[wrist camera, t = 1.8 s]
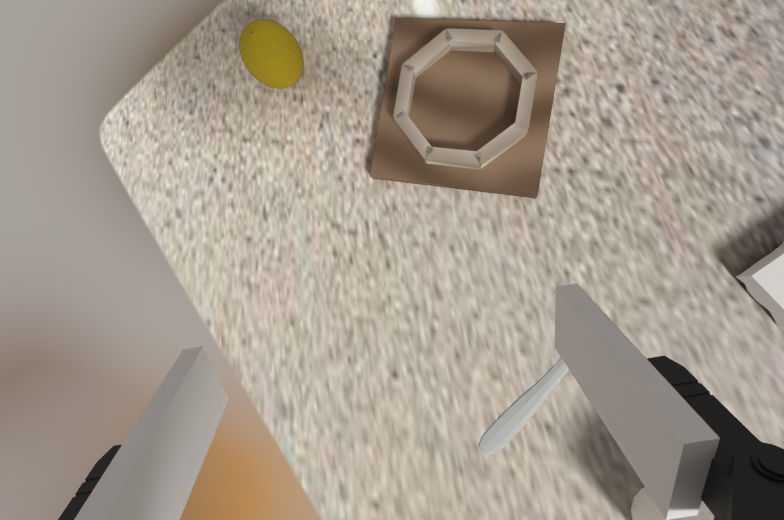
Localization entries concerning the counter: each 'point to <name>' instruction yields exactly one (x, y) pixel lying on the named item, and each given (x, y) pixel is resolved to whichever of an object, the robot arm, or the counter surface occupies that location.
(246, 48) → the lemon
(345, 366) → the counter surface
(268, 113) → the counter surface
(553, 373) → the butter knife
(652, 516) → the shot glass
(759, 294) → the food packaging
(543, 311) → the counter surface
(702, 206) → the counter surface
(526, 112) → the lemon holder
